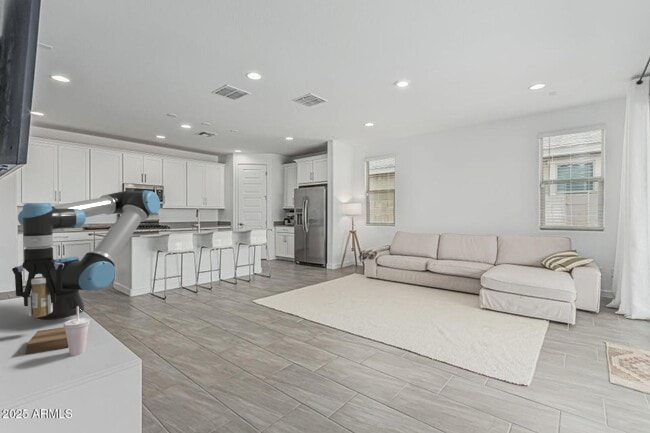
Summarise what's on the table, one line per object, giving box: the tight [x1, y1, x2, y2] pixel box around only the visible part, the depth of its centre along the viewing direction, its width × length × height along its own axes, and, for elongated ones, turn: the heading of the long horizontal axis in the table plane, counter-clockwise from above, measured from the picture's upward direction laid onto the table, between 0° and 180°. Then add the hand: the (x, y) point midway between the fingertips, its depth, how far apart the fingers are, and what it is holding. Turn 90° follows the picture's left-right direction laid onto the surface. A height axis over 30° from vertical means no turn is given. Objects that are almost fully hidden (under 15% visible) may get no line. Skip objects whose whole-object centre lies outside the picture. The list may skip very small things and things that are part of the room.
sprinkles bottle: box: [31, 276, 48, 318], centre depth 110 cm, size 5×5×14 cm
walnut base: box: [25, 327, 68, 355], centre depth 102 cm, size 12×12×3 cm
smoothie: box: [63, 306, 91, 357], centre depth 95 cm, size 6×6×14 cm
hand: (40, 313), depth 110 cm, fingers closed on sprinkles bottle, 4 cm apart
